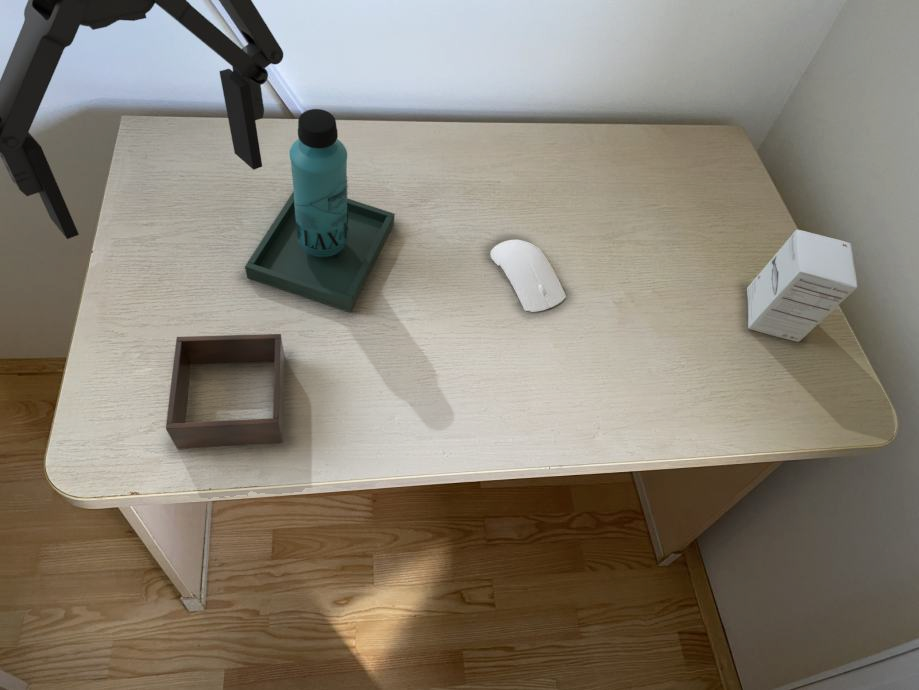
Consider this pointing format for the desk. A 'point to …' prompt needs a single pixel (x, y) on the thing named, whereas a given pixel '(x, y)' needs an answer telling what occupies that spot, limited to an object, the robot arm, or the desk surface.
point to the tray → (322, 276)
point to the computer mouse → (529, 274)
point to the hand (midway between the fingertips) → (163, 191)
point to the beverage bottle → (319, 184)
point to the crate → (218, 353)
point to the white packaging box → (801, 285)
